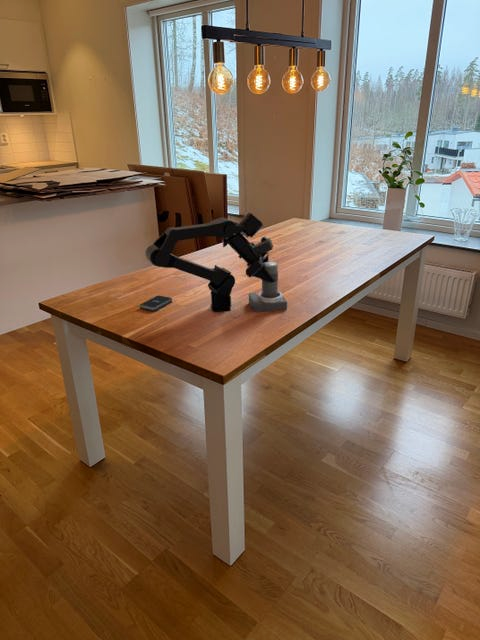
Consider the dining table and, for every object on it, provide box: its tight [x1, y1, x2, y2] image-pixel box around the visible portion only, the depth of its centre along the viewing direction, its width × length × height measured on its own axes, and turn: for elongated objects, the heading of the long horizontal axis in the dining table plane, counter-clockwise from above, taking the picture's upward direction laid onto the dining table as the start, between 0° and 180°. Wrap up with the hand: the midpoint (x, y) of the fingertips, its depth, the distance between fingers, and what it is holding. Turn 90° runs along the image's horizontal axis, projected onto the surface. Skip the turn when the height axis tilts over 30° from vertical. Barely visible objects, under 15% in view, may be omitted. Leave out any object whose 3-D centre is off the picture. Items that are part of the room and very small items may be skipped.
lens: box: [261, 261, 279, 298], centre depth 157 cm, size 6×6×13 cm
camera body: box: [248, 290, 288, 313], centre depth 160 cm, size 12×9×4 cm
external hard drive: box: [139, 294, 173, 313], centre depth 164 cm, size 7×11×2 cm, turn 151°
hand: (274, 278), depth 156 cm, fingers open, 6 cm apart
